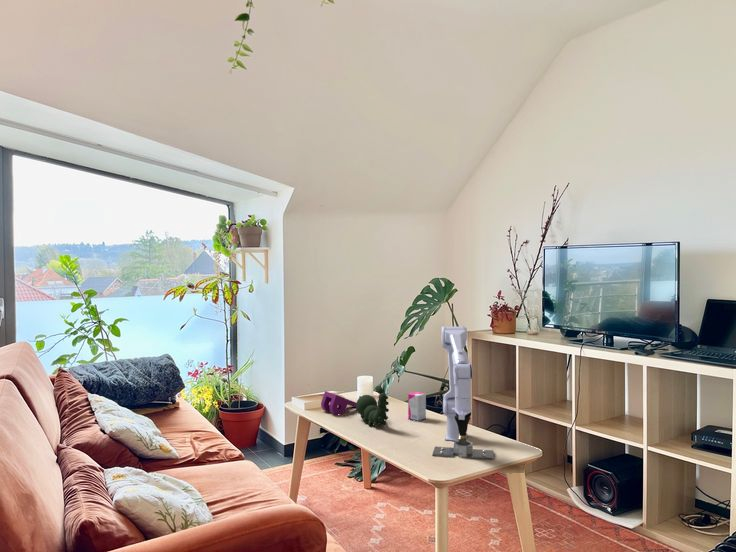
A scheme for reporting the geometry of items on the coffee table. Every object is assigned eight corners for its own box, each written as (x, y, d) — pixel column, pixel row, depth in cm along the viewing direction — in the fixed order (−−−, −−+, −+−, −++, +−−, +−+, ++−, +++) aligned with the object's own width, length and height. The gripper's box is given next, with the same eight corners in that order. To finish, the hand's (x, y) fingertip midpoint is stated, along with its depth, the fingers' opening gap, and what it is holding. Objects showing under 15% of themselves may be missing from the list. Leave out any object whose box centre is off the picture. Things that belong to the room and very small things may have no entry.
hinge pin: (459, 439, 208) (458, 417, 207) (467, 439, 207) (466, 418, 206) (457, 442, 205) (456, 419, 205) (466, 442, 204) (465, 420, 204)
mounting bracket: (347, 419, 274) (318, 408, 264) (353, 402, 276) (325, 391, 266) (359, 423, 266) (329, 412, 256) (365, 406, 268) (336, 394, 258)
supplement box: (426, 419, 251) (426, 393, 251) (418, 421, 247) (417, 395, 246) (416, 416, 255) (415, 391, 255) (407, 419, 251) (407, 393, 250)
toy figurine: (393, 432, 238) (368, 412, 260) (395, 388, 236) (369, 372, 258) (373, 435, 234) (349, 415, 256) (374, 391, 232) (350, 374, 254)
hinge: (432, 455, 204) (432, 444, 204) (435, 448, 212) (434, 438, 212) (493, 460, 199) (493, 448, 199) (493, 452, 207) (493, 441, 207)
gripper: (453, 391, 213) (453, 427, 213) (449, 401, 199) (450, 439, 199) (472, 392, 211) (472, 428, 212) (470, 402, 197) (470, 440, 198)
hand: (463, 434), depth 206 cm, fingers closed on hinge pin, 3 cm apart
